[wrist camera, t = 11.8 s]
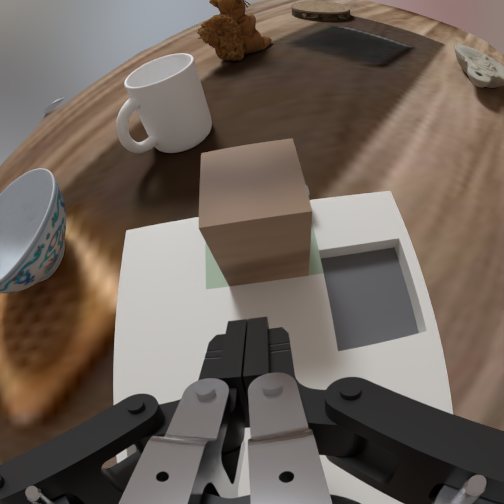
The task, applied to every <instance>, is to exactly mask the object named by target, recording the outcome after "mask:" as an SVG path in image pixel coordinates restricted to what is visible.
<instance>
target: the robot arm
mask: <svg viewBox="0 0 504 504" xmlns="http://www.w3.org/2000/svg"><path fill="white" fill-rule="evenodd" d="M245 428H250V434H251V439H248V462H249V481H250V495H246V496H242V497H238V486H239V480H240V474H241V468H242V463H243V457H244V451H245V441H244V434H245ZM133 444H134V445H135V446H136V448H137V449H138V451H136V452H135V453H133V454H132V455H130V456H129V457H127V458H125V459H124V460H122V461H121V462H119V463H117V464H116V465H114V466H112V467H111V468H107V469H104V468H101V467H102V465H103V464H104V463H105V462H106V461H108V460H109V459H111V458H112V457H114V456H116V455H117V454H119V453H121V452H122V451H124V450H125V449H127V448H129V447H130V446H132V445H133ZM319 455H326V457H327V459H328V460H329V461H330V462H331V463H333V464H335V465H336V466H338V467H339V468H341V469H343V470H344V471H346V472H347V473H349V474H351V475H352V476H354V477H356V478H357V479H359V480H361V481H363V482H364V483H366V484H368V485H370V486H371V487H373V488H375V489H377V490H379V491H380V492H382V493H384V494H386V495H388V496H390V497H392V498H394V499H396V500H397V501H399V502H401V503H403V504H504V431H501V430H498V429H495V428H492V427H488V426H485V425H482V424H479V423H476V422H473V421H470V420H467V419H465V418H462V417H459V416H456V415H453V414H451V413H448V412H445V411H442V410H440V409H437V408H434V407H432V406H429V405H426V404H424V403H421V402H419V401H416V400H414V399H411V398H409V397H406V396H404V395H401V394H399V393H396V392H394V391H392V390H389V389H387V388H384V387H382V386H380V385H377V384H375V383H373V382H370V381H368V380H366V379H363V378H359V377H345V378H341V379H338V380H336V381H334V382H333V383H331V384H330V385H329V386H328V387H327V389H326V390H319V389H312V388H308V387H305V386H303V385H302V384H300V383H299V382H298V381H297V379H296V377H295V372H294V365H293V359H292V352H291V345H290V339H289V333H288V332H287V331H286V330H285V329H284V328H283V327H279V328H271V329H269V324H268V318H267V316H266V317H259V318H251V319H248V320H247V319H243V320H234V321H228V324H227V329H226V333H225V334H219V335H216V336H215V337H214V338H213V339H212V340H211V341H210V342H209V344H208V347H207V352H206V354H205V359H204V361H203V365H202V368H201V372H200V375H199V379H198V381H196V382H194V383H192V384H191V385H189V386H188V387H187V388H186V389H185V391H184V393H183V395H182V398H181V399H180V400H176V401H173V402H168V403H164V404H158V401H157V400H156V398H155V397H153V396H152V395H149V394H135V395H132V396H129V397H127V398H125V399H124V400H122V401H120V402H119V403H117V404H115V405H113V406H112V407H110V408H108V409H107V410H105V411H103V412H101V413H100V414H98V415H96V416H94V417H92V418H91V419H89V420H87V421H85V422H84V423H82V424H80V425H78V426H76V427H74V428H73V429H71V430H69V431H67V432H65V433H63V434H61V435H60V436H58V437H56V438H54V439H52V440H50V441H48V442H46V443H44V444H42V445H40V446H38V447H36V448H34V449H32V450H30V451H28V452H26V453H24V454H22V455H20V456H18V457H16V458H14V459H12V460H10V461H8V462H6V463H4V464H1V465H0V504H361V503H359V502H356V501H354V500H352V499H349V498H346V497H342V496H337V495H332V494H330V493H329V489H328V486H327V482H326V478H325V474H324V471H323V467H322V463H321V460H320V456H319Z"/></svg>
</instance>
